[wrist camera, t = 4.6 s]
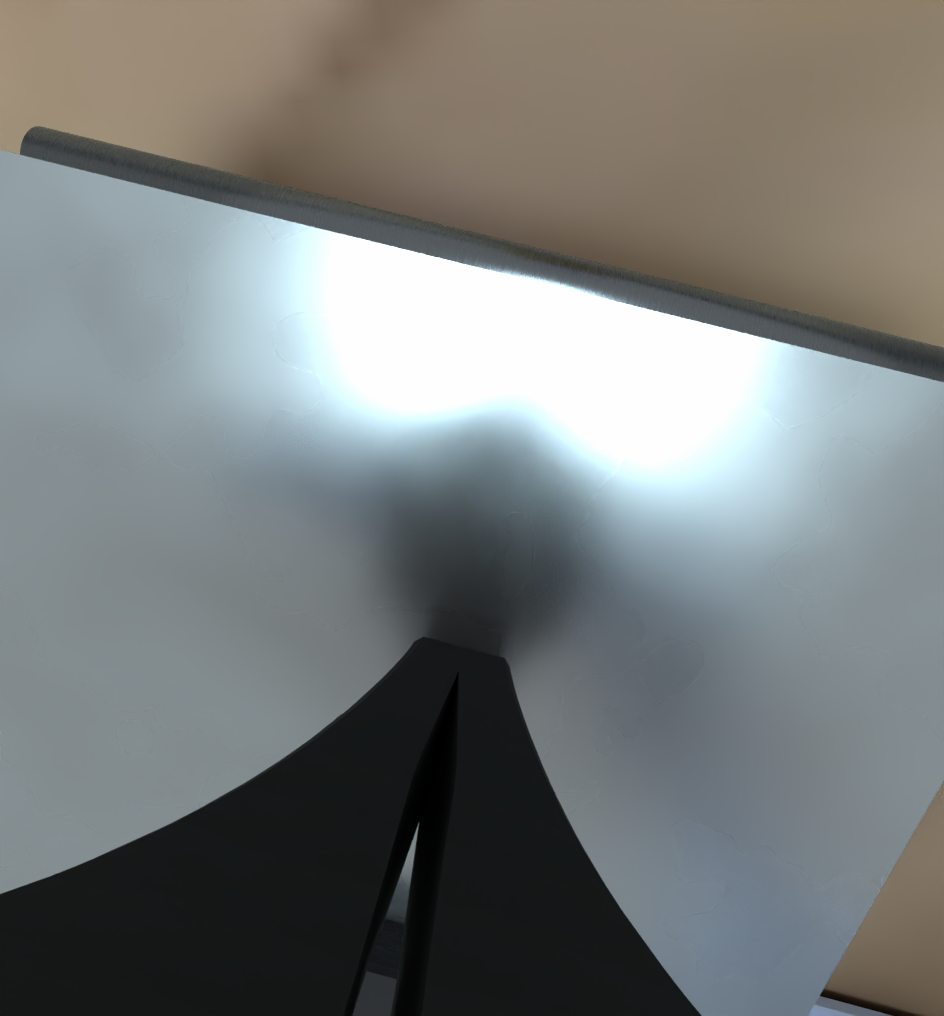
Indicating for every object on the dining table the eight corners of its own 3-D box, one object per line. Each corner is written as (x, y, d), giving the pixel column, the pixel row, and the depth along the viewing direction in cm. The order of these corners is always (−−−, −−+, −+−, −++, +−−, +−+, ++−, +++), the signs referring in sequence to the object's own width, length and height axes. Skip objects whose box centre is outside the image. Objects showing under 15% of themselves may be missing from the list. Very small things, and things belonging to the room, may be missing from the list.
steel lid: (738, 1070, 14) (765, 1183, 12) (25, 874, 14) (-48, 957, 12) (1112, 389, 9) (1243, 415, 7) (35, 126, 9) (-80, 91, 8)
